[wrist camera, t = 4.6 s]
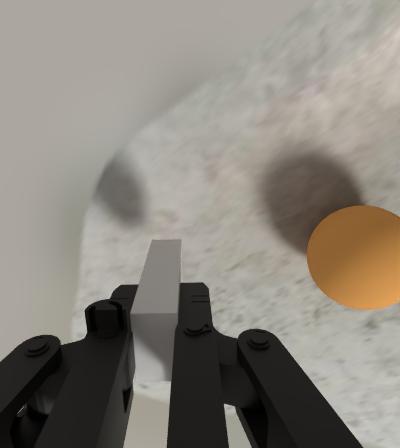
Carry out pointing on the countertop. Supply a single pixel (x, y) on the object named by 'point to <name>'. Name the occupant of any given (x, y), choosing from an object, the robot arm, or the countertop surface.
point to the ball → (357, 257)
